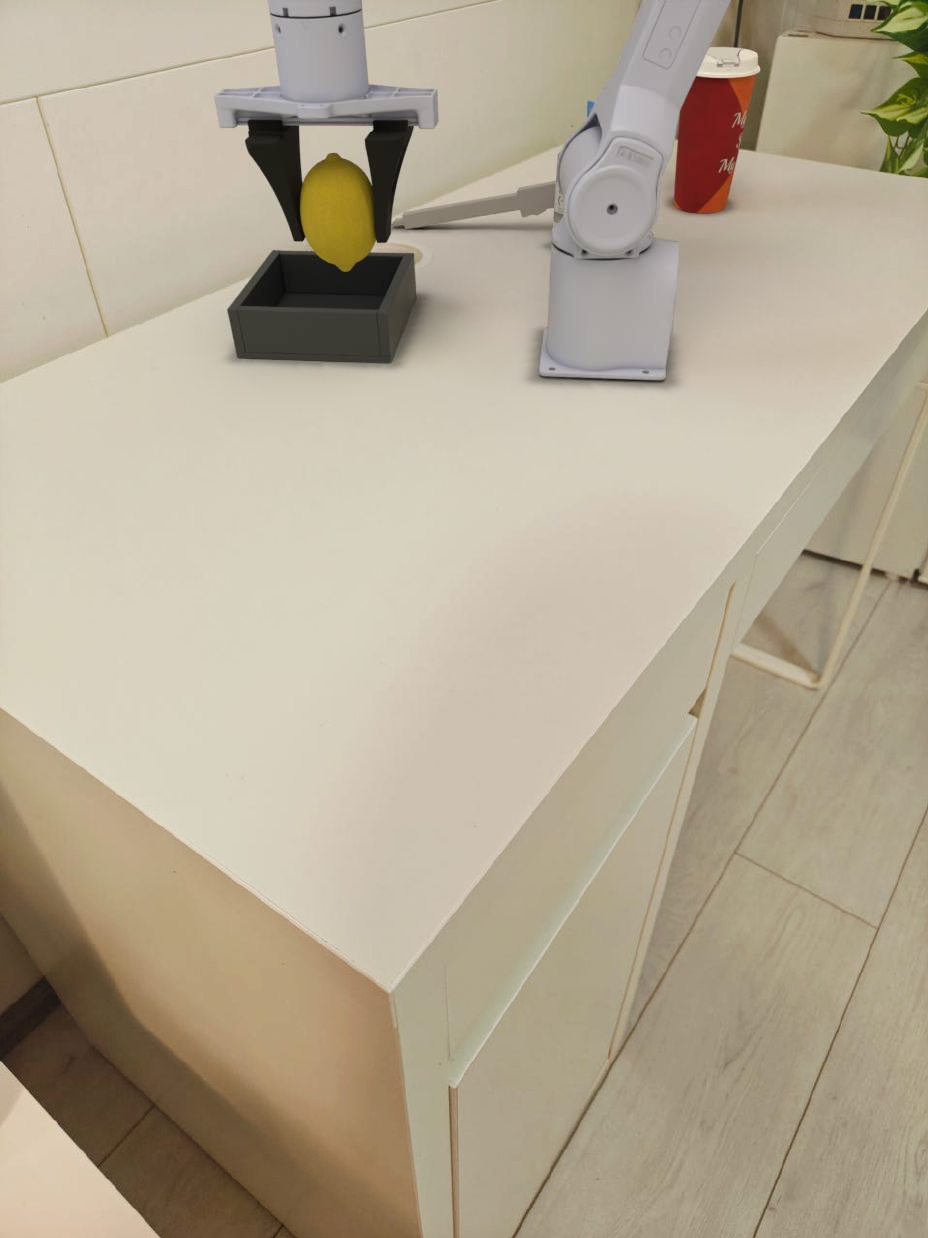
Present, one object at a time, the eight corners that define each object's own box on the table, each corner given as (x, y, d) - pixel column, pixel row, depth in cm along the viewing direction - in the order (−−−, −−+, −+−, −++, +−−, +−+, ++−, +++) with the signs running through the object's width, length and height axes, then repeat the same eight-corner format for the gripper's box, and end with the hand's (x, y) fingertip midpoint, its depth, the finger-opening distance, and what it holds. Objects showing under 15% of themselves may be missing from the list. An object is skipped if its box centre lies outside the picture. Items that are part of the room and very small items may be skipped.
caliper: (588, 231, 90) (593, 164, 86) (587, 235, 89) (592, 168, 85) (394, 225, 92) (389, 160, 88) (391, 228, 92) (386, 163, 87)
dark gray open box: (416, 298, 78) (414, 252, 76) (391, 363, 69) (386, 313, 66) (280, 294, 80) (272, 249, 77) (237, 357, 70) (226, 309, 68)
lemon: (372, 287, 63) (360, 166, 57) (298, 283, 63) (280, 163, 58) (391, 258, 67) (382, 142, 61) (322, 255, 67) (307, 140, 62)
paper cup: (743, 215, 92) (771, 60, 82) (669, 217, 92) (689, 62, 83) (727, 192, 98) (752, 44, 88) (658, 193, 98) (675, 45, 88)
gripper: (180, 22, 52) (227, 255, 61) (422, 21, 51) (433, 259, 60) (218, 3, 57) (256, 221, 66) (439, 1, 56) (446, 224, 65)
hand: (342, 237), depth 63 cm, fingers closed on lemon, 5 cm apart
